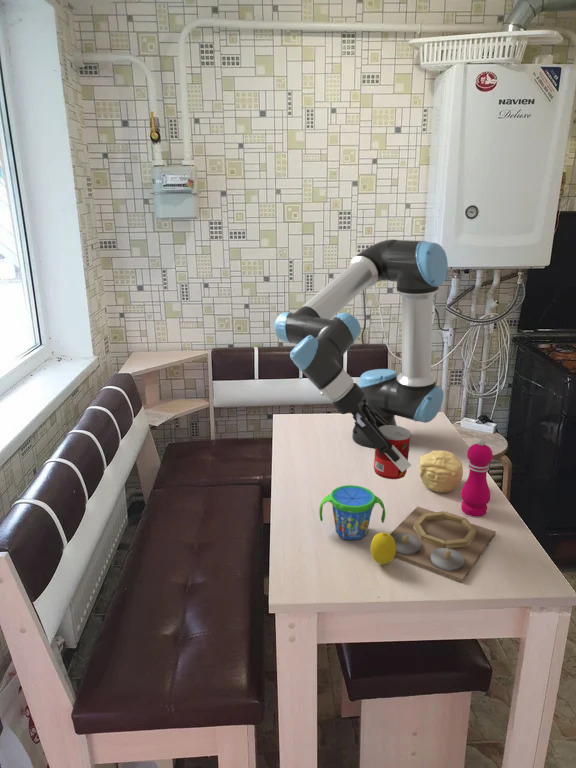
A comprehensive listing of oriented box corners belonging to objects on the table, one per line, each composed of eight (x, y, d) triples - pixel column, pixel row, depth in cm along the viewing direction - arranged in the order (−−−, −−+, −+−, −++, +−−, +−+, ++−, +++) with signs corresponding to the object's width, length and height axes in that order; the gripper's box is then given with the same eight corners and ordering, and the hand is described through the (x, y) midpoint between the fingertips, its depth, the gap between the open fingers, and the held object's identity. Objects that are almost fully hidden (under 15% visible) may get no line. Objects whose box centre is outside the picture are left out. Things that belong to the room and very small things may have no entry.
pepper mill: (453, 509, 152) (460, 438, 146) (469, 500, 156) (477, 430, 150) (478, 521, 147) (486, 447, 140) (494, 511, 151) (502, 439, 145)
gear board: (417, 509, 152) (418, 497, 151) (495, 535, 141) (496, 522, 140) (377, 550, 135) (377, 537, 134) (462, 583, 124) (463, 568, 123)
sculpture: (414, 492, 161) (416, 456, 157) (424, 473, 171) (426, 439, 168) (457, 501, 156) (460, 464, 153) (464, 481, 167) (468, 446, 163)
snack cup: (384, 523, 146) (386, 486, 143) (384, 548, 136) (386, 509, 133) (321, 518, 148) (321, 482, 145) (316, 542, 139) (317, 504, 135)
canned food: (405, 482, 140) (410, 439, 136) (371, 477, 142) (375, 435, 138) (407, 467, 147) (411, 427, 143) (375, 463, 149) (378, 423, 145)
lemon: (399, 563, 131) (401, 532, 128) (386, 575, 127) (387, 542, 124) (378, 553, 134) (380, 522, 132) (364, 564, 130) (366, 533, 128)
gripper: (334, 388, 150) (392, 451, 153) (327, 417, 131) (394, 489, 134) (356, 369, 148) (415, 434, 151) (353, 397, 129) (421, 470, 132)
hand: (405, 460), depth 143 cm, fingers closed on canned food, 8 cm apart
